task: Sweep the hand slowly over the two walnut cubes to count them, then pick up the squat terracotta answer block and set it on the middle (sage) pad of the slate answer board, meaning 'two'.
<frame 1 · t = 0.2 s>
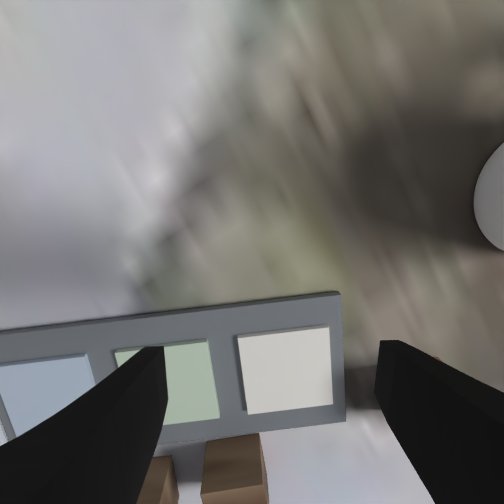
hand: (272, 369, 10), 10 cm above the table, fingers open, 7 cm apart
walnut cube b: (149, 477, 24), on the table
walnut cube a: (237, 456, 23), on the table
answer board: (172, 377, 21), on the table
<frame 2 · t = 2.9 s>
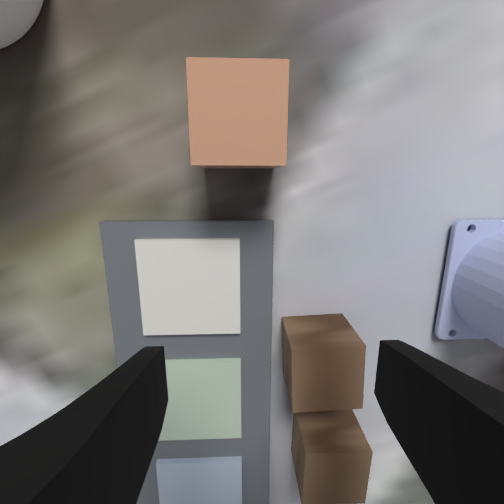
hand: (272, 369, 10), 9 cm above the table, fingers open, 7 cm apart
walnut cube b: (319, 426, 22), on the table
token: (238, 131, 17), on the table
walnut cube a: (311, 341, 21), on the table
answer board: (197, 392, 21), on the table
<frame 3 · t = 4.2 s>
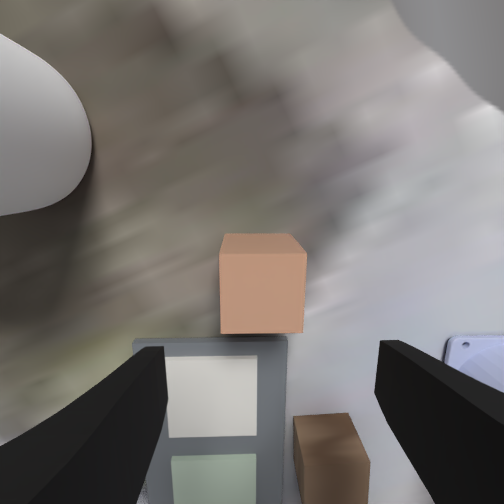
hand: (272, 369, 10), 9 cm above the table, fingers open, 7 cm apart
token: (257, 264, 19), on the table
walnut cube a: (320, 436, 23), on the table
answer board: (215, 479, 23), on the table
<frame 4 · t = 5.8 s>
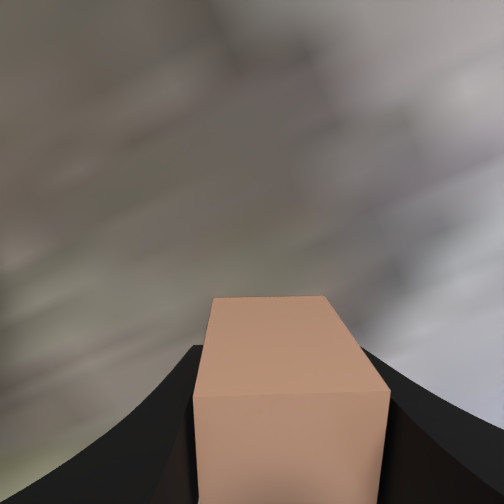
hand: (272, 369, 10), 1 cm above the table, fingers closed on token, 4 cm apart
token: (268, 346, 11), on the table, touching gripper
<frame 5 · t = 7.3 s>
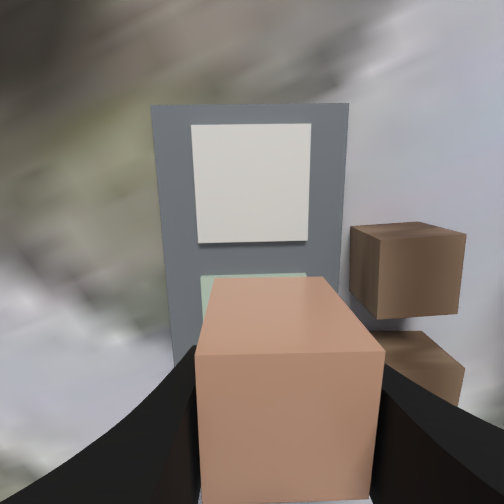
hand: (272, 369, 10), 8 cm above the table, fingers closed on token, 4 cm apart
walnut cube b: (386, 358, 20), on the table
token: (268, 326, 12), point 7 cm above the table, touching gripper
walnut cube a: (382, 256, 18), on the table
answer board: (253, 317, 19), on the table
when the fingers open (3 cm above the table, at t = 8.9 s): token stays where it is, resting on answer board.
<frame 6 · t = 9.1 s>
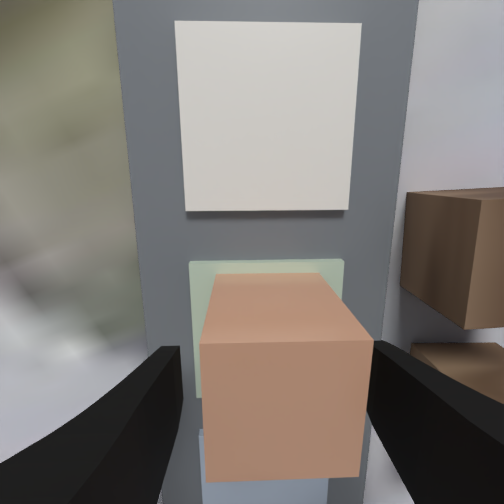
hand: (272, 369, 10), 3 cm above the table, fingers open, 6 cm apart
walnut cube b: (445, 379, 15), on the table
token: (267, 320, 12), point 1 cm above the table, touching answer board
walnut cube a: (448, 237, 13), on the table
answer board: (264, 321, 13), on the table
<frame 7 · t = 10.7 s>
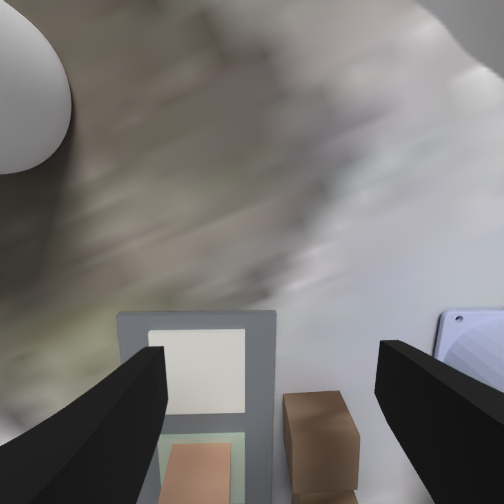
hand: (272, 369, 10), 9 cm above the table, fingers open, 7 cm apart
walnut cube b: (317, 488, 24), on the table
token: (202, 466, 21), point 1 cm above the table, touching answer board
walnut cube a: (310, 414, 22), on the table
answer board: (204, 459, 23), on the table
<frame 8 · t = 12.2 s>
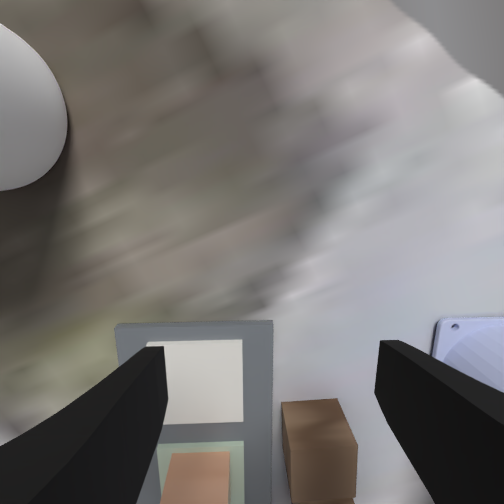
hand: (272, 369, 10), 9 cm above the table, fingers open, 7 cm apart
walnut cube b: (317, 495, 24), on the table
token: (202, 474, 22), point 1 cm above the table, touching answer board
walnut cube a: (309, 422, 22), on the table
answer board: (203, 468, 23), on the table
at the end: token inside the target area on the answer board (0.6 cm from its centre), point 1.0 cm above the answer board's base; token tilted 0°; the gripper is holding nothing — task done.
